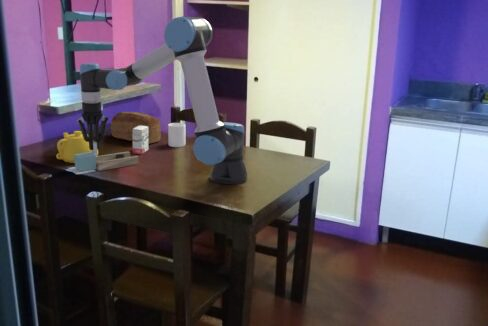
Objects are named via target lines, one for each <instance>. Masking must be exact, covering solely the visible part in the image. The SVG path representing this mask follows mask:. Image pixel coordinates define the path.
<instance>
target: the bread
mask: <svg viewBox="0 0 488 326" xmlns="http://www.w3.org/2000/svg"><path fill="white" fill-rule="evenodd" d="M161 124H162V123H161V122H160V120H159V119H158V118H157V117H155V116H153V115H151V114H148V113H144V112H139V111H119V112H117V113H116V114H115V115H114V116H113V117H112V118H111V124H110V131H111V135H112V136H113V138H116V139H121V140H126V141H130V142H133V128H135V127H137V126H148V145H149V144H154V143H157V142H159V141H161Z"/></svg>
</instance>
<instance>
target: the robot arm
mask: <svg viewBox="0 0 488 326" xmlns="http://www.w3.org/2000/svg"><path fill="white" fill-rule="evenodd" d="M163 39H164V42H165V43H164V44H162V45H160V46H158V47H157V48H155V49H154V50H152V51H150V52H149V53H147V54H146V55H144V56H143V57H141V58H139V59H137V60H136V61H134V62H132V63H131V64H130V65H128V66H126V67H122V68H114V69H101V68H100V64H99V63H96V62H84V63H83V62H82V63H80V65H79V79H80V89H81V90H80V92H81V93H80V95H81V101H82V102H81V107H82V108H81V109H82V111H81V112H82V114H81V117H80V118H77V119H76V123H77V124H78V125H79V128H80V131H81V133H82V135H83V138H84V140H85V141H86V142H89V149H90V150H92V153H93V154H95V156H96V157H98V156H99V154H98V155H97V149H98V150H99V149H100V142H101V141H102V140H104V136H105V133H106V132H105V130H106V126H107V125H106V124H107V122H108V120H109V117H107V116H105V115H104V114H103V112H102V102H101V100H102V96H101V89H104V90H105V89H107V90H112V91H122V90H124V89H125V88H126V87H130V86H135V85H139V84H140V83H142V82H143V80H144V79H146V78H147V77H149V76H150V75H152V74H154V73H156V72H157V71H159V70H162V68H164V67H166V66H168V65H170V64H172V63H173V62H175V61H176V60H177V61H178V62H180V65H181V68H182V73H183V77H184V80H185V81H184V82H185V84H186V85H185V86H186V88H187V93H188V97H189V100H190V105H191V107H192V112H193V116H194V120H195V123H196V128H194V129H195V130H194V136H195V141H194V143H193V146H192V148H193V150H192V151H193V153H194V156H195V157H196V159H197V160H198V161H199V162H201V163H203V164H204V165H207V166H212V167H211V169H210V172H209V179H210V181H212V182H214V183H217V184H222V185H236V184H238V185H239V184H241V183H244V182H246V181H247V180H248V171H247V170H246V169H247V168H246V166H245V162H244V153H245V152H244V151H245V134H246V132H245V126H244V125H243V124H241V123H236V122H228V121H227V122H226V121H225V122H224V121H223V122H222V121H221V120H220V117H219V113H218V109H217V105H216V102H215V97H214V92H213V90H212V85H211V80H210V76H209V74H208V73H209V72H208V69H207V66H206V60H205V55H206V53H207V46H208V45H209V44H210V43H211V41H212V39H213V28H212V26H211V24H210V22H209V21H207V20H206V19H205V18H203V17H200V16H184V15H182V16H177V17H174V18H173V19H171V20H169V22H167V24H166V26H165V28H164V32H163ZM100 121H101V122H100ZM84 122H85V123H86V126H87V128H86V126H85V124H84ZM99 123H100V125H99ZM99 126H100V127H99ZM86 129H87V130H86ZM87 134H88V135H87Z"/></svg>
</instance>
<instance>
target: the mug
mask: <svg viewBox="0 0 488 326" xmlns="http://www.w3.org/2000/svg"><path fill="white" fill-rule="evenodd" d="M167 131H168V132H167V134H168V137H167V138H168V146H169V147H172V148H183V147H186V144H187V143H186V139H187V138H186V132H187V131H186V123H183V122H171V123H168V124H167Z"/></svg>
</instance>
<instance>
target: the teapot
mask: <svg viewBox="0 0 488 326" xmlns="http://www.w3.org/2000/svg"><path fill="white" fill-rule="evenodd" d="M87 135H88V133H87ZM56 148H57V151H58V153H57V154H56V159H57V160H62V161H64V162H65V163H68V162H69V164H75V159H74V154H80V153H87V152H91V153H92V150H90V149H89V142H86V141H85V140H84V138H83V135H82V132H81V130H74V131H73V133H71V134H69V133H68V132H63V138H61V139H59V140H58V141H57V143H56ZM97 155H98V156H99V149H97Z"/></svg>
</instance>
